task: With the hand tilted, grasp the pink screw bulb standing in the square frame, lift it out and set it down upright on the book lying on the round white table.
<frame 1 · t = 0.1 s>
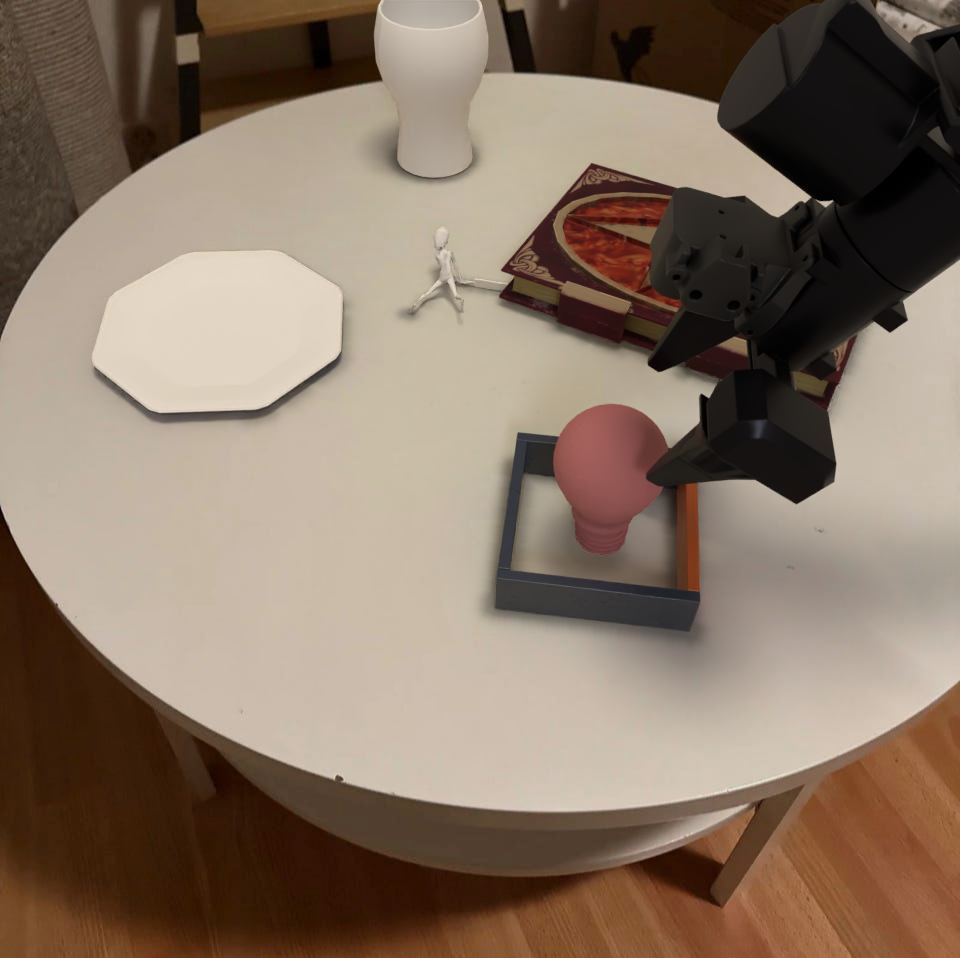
hand: (652, 420, 54), 13 cm above the table, tool tilted 35°, fingers open, 9 cm apart
plate: (225, 339, 77), on the table
book: (692, 289, 81), on the table, touching action figure
square frame: (596, 542, 63), on the table
action figure: (484, 302, 80), on the table, touching book
cup: (435, 159, 95), on the table
pink screw bulb: (596, 543, 64), resting in square frame
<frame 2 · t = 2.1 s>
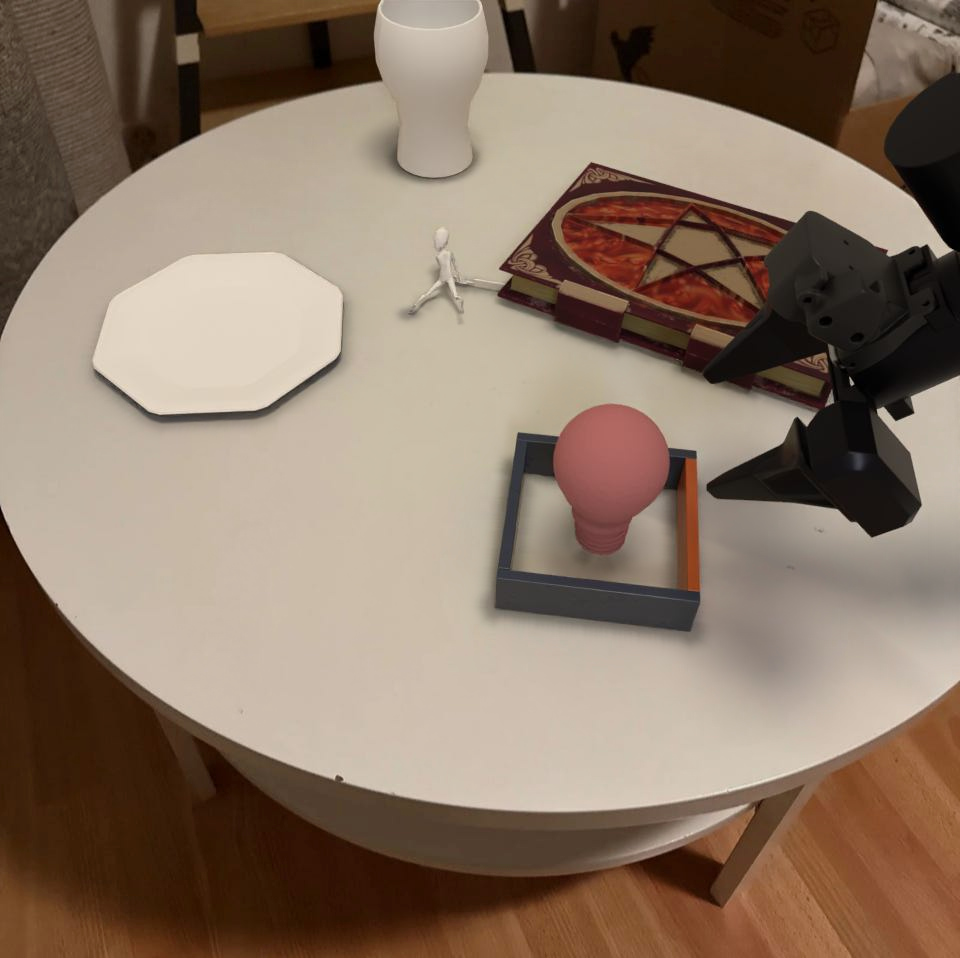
hand: (708, 431, 54), 12 cm above the table, tool tilted 45°, fingers open, 9 cm apart
nothing on the table moved.
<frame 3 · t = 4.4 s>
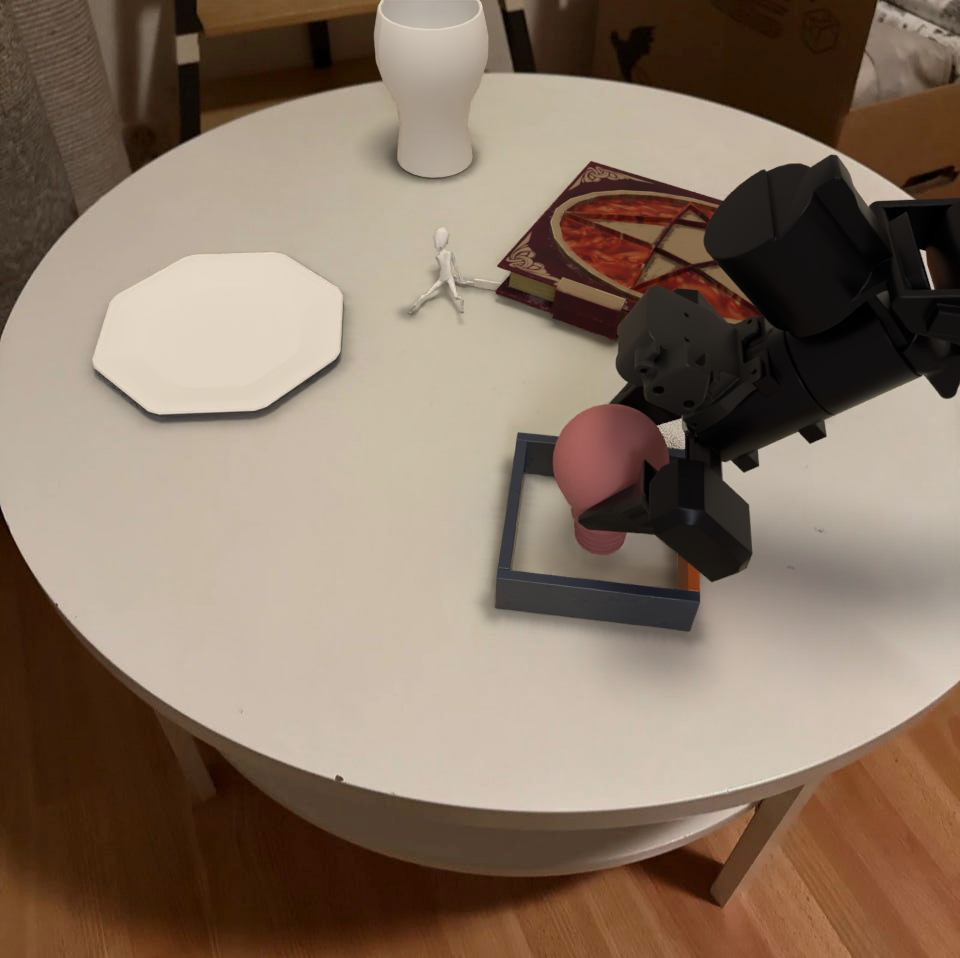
hand: (585, 477, 59), 7 cm above the table, tool tilted 45°, fingers closed on pink screw bulb, 7 cm apart
pink screw bulb: (595, 543, 64), resting in square frame, touching gripper
everything else where it was.
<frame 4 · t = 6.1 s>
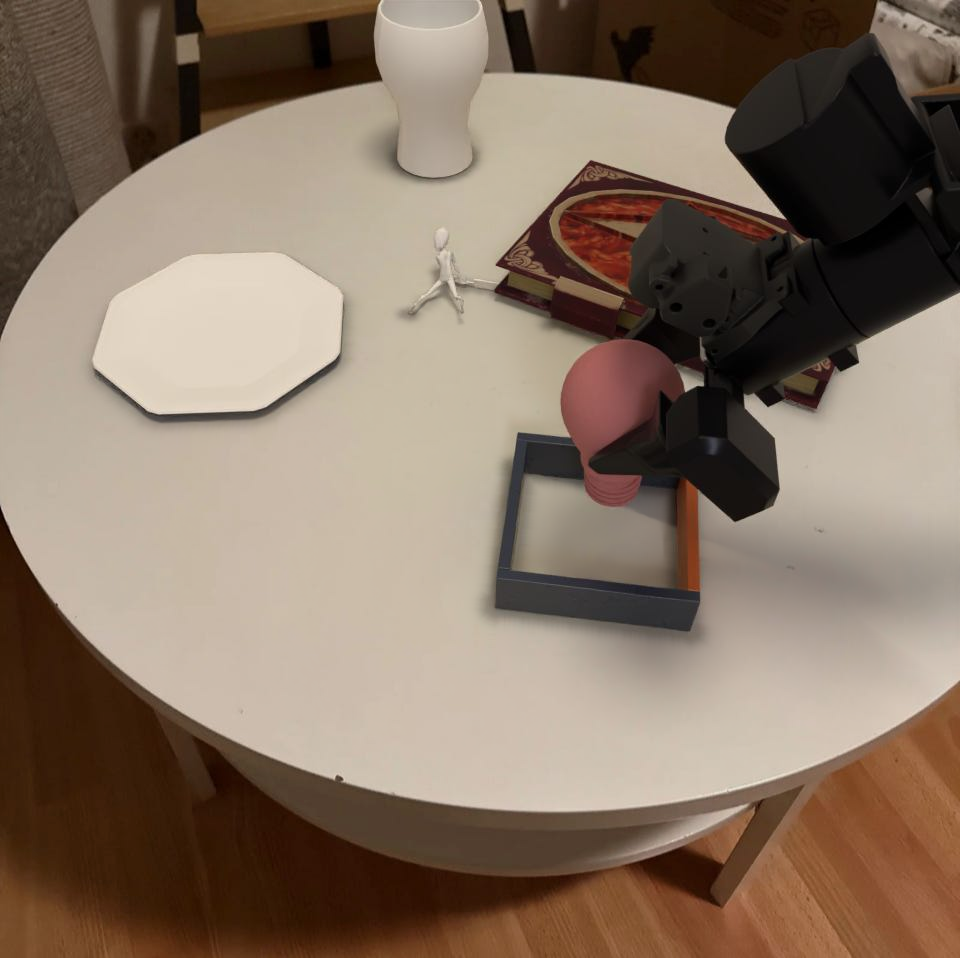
hand: (595, 420, 54), 12 cm above the table, tool tilted 45°, fingers closed on pink screw bulb, 7 cm apart
pink screw bulb: (607, 496, 60), point 5 cm above the table, touching gripper
everything else where it was.
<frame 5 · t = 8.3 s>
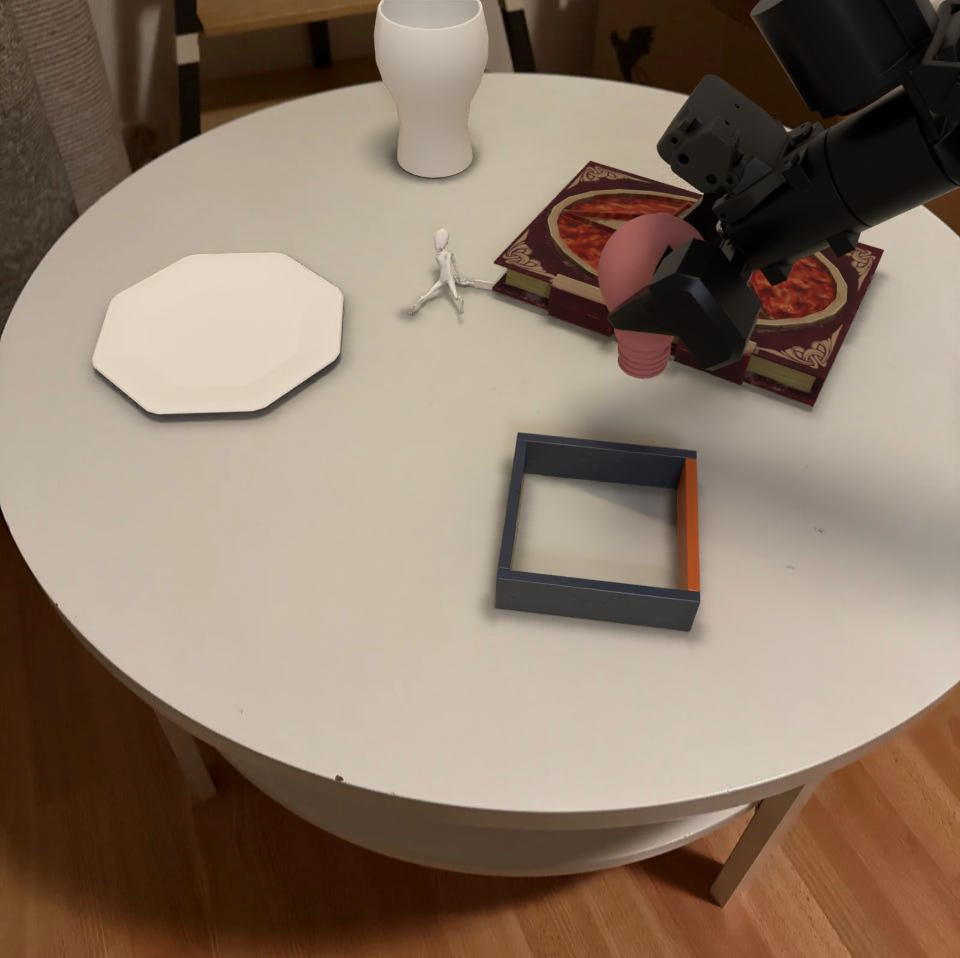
hand: (630, 288, 60), 13 cm above the table, tool tilted 45°, fingers closed on pink screw bulb, 7 cm apart
pink screw bulb: (637, 371, 65), point 6 cm above the table, touching gripper
everything else where it was.
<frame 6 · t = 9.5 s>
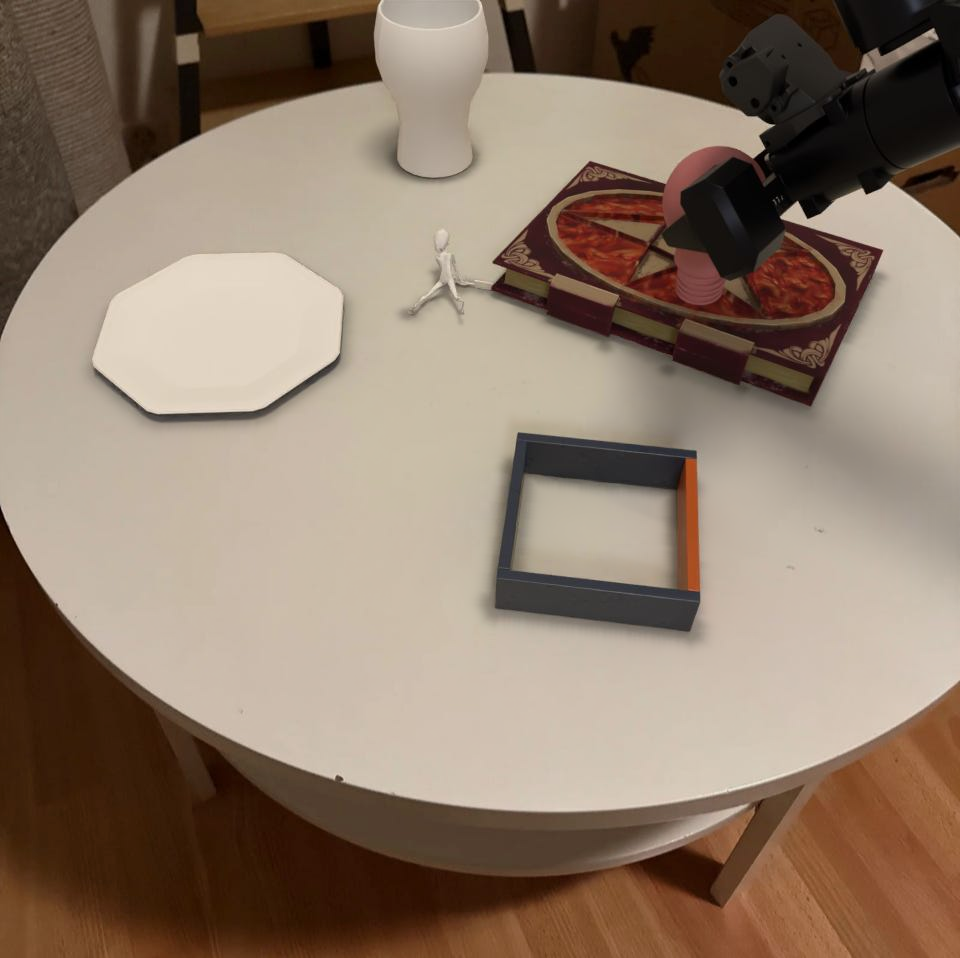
hand: (693, 215, 66), 13 cm above the table, tool tilted 45°, fingers closed on pink screw bulb, 7 cm apart
pink screw bulb: (693, 300, 70), point 6 cm above the table, touching gripper
everything else where it was.
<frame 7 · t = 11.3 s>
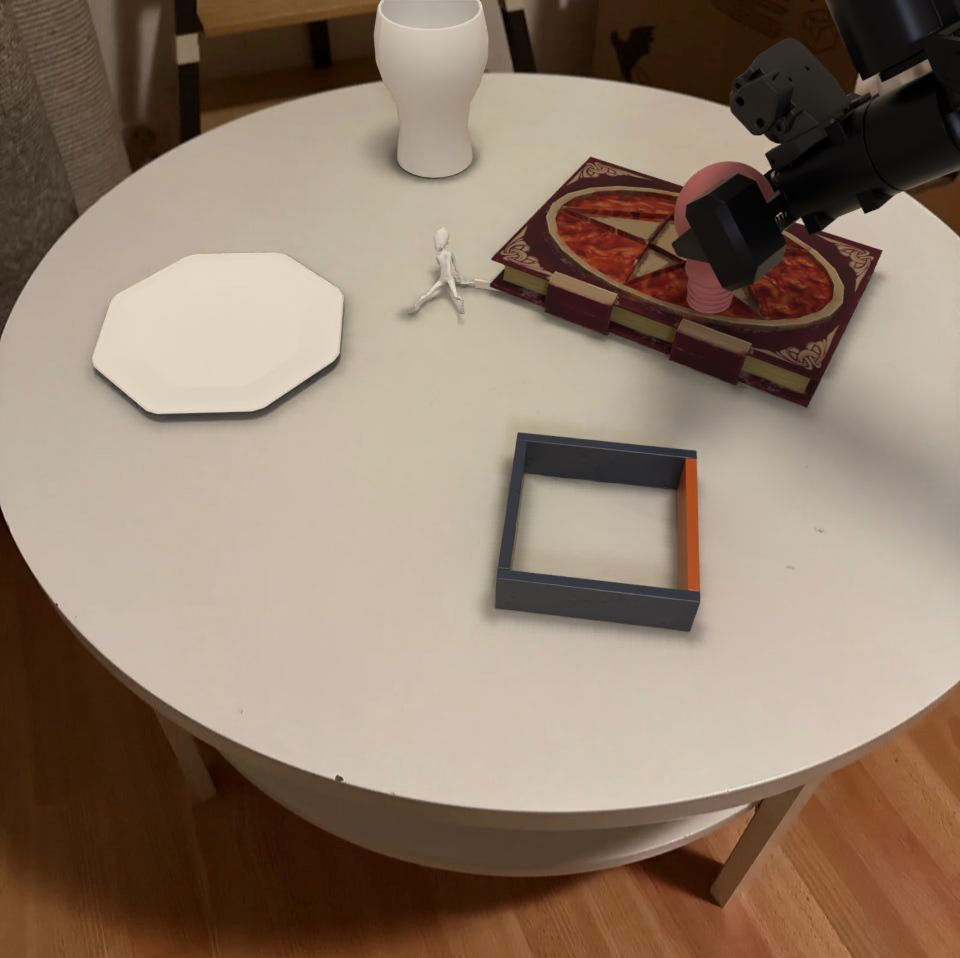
hand: (704, 227, 68), 11 cm above the table, tool tilted 45°, fingers closed on pink screw bulb, 7 cm apart
book: (682, 284, 82), on the table, touching action figure, pink screw bulb
pink screw bulb: (703, 308, 73), point 4 cm above the table, touching book, gripper
everything else where it was.
when the fingers open (11 cm above the table, at t = 11.5 s): pink screw bulb stays where it is, resting on book.
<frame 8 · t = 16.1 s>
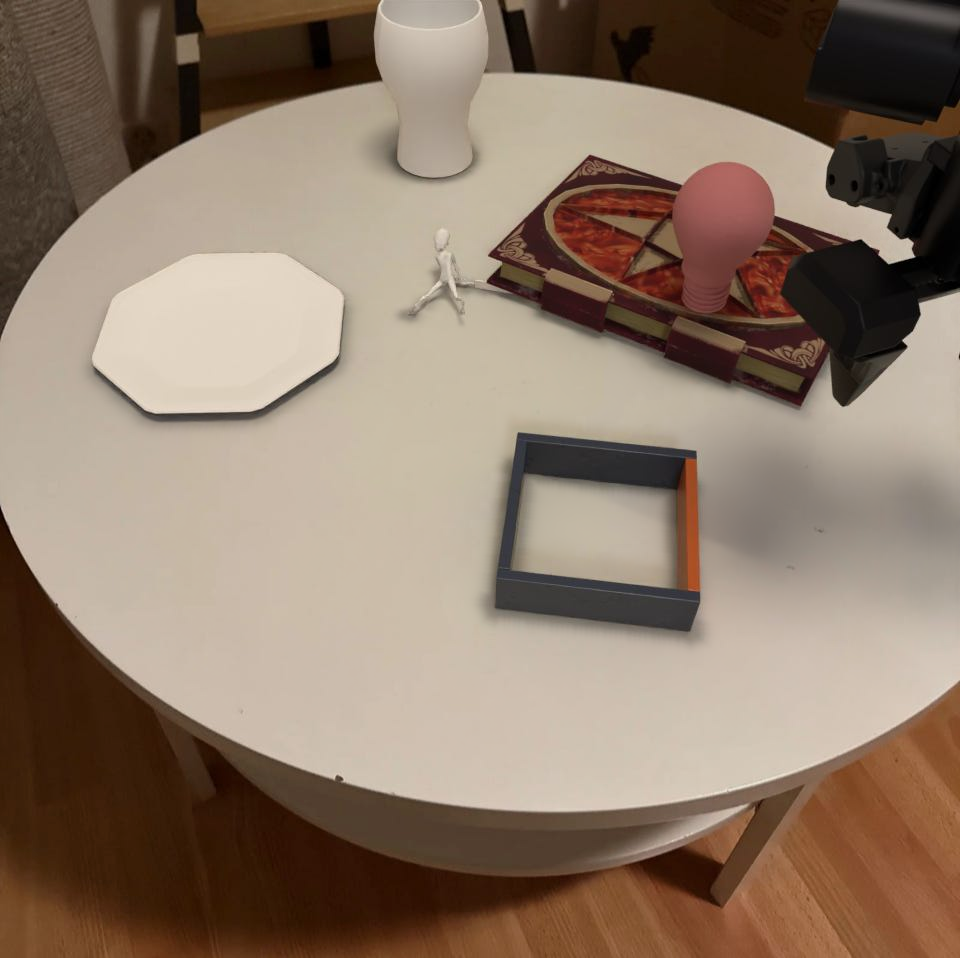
hand: (904, 381, 55), 13 cm above the table, tool pointing down, fingers open, 9 cm apart
pink screw bulb: (698, 307, 73), point 4 cm above the table, touching book
everything else where it was.
at the end: pink screw bulb inside the target area on the book (8.7 cm from its centre), point 4.3 cm above the book's base; pink screw bulb tilted 1°; the gripper is holding nothing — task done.
